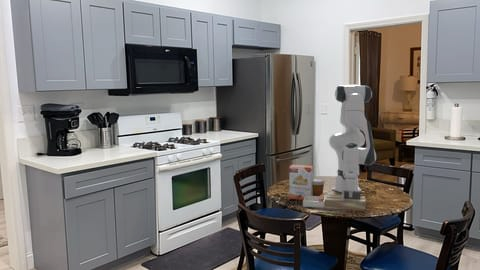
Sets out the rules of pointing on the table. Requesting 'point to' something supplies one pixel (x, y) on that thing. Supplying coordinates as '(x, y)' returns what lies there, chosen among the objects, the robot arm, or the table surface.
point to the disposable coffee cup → (318, 186)
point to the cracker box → (301, 181)
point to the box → (313, 202)
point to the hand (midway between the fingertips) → (350, 195)
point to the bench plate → (344, 203)
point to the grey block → (354, 195)
